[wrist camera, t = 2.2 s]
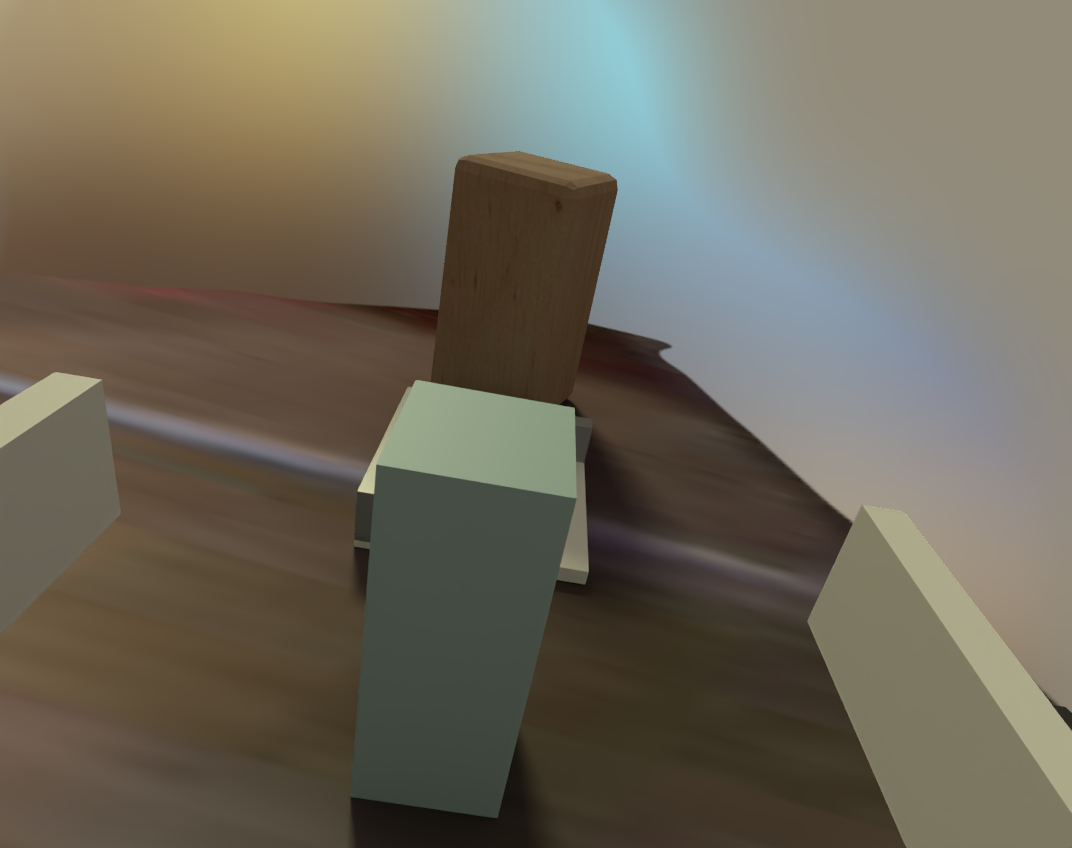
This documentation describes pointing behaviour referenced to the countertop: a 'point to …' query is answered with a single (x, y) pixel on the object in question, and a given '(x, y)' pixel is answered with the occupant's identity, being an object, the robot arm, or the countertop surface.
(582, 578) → the corner jig
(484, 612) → the teal post
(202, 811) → the countertop surface
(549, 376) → the wooden block
